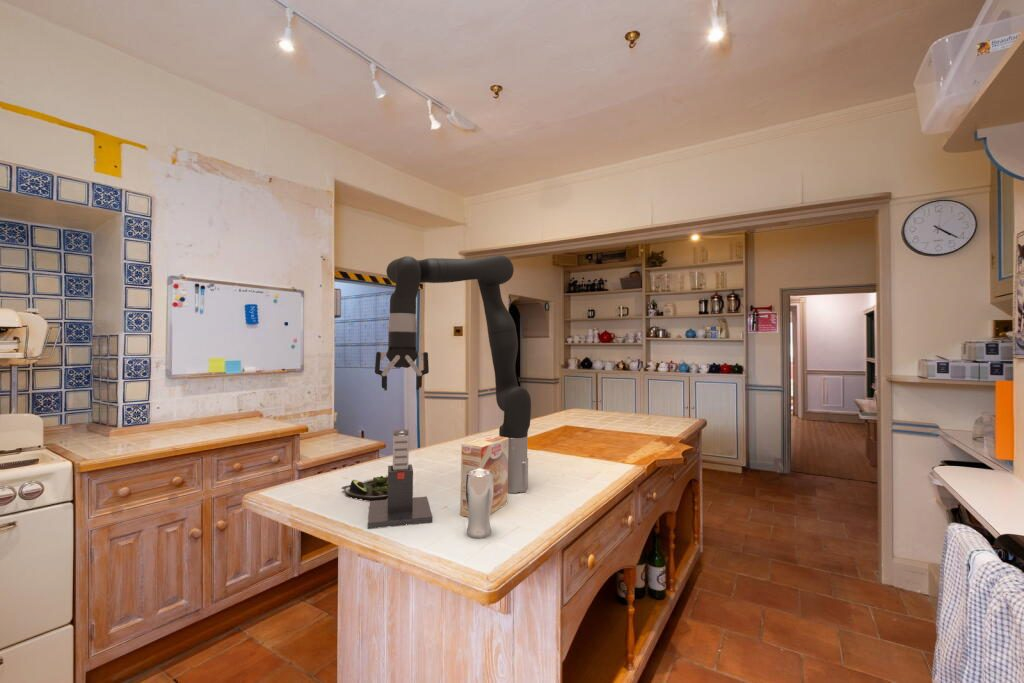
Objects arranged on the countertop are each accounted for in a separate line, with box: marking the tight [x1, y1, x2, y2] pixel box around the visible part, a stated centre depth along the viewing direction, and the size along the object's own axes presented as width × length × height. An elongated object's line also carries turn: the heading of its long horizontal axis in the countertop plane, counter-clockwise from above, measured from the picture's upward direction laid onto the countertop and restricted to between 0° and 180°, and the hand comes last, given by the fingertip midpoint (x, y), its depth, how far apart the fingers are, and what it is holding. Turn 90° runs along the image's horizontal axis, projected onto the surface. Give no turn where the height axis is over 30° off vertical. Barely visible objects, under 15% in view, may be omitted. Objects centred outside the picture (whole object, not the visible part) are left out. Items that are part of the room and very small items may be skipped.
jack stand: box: [367, 463, 433, 529], centre depth 121 cm, size 16×16×12 cm
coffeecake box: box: [459, 434, 509, 518], centre depth 126 cm, size 15×7×20 cm, turn 151°
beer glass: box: [465, 469, 494, 539], centre depth 110 cm, size 7×7×15 cm
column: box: [392, 428, 410, 471], centre depth 121 cm, size 4×4×21 cm
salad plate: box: [340, 474, 388, 502], centre depth 141 cm, size 19×18×5 cm
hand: (401, 389), depth 122 cm, fingers open, 8 cm apart
